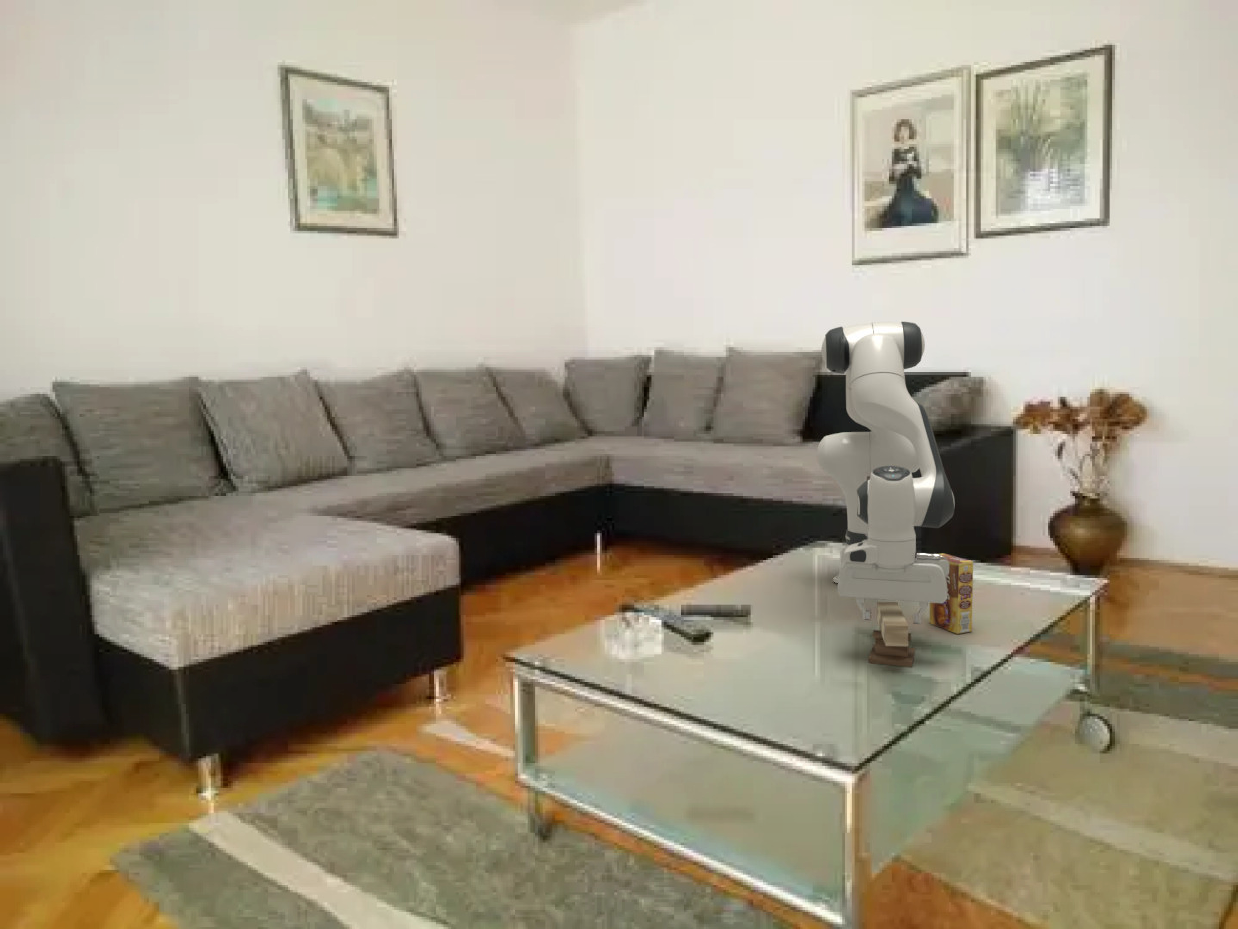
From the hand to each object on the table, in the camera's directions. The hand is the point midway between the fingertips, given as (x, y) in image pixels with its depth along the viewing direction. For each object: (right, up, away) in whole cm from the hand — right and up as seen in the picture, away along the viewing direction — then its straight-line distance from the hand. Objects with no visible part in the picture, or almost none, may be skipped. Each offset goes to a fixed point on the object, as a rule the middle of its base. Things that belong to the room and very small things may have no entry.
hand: (891, 621), depth 168 cm
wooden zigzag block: (0, -2, 0) cm, 2 cm away
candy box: (+18, -5, +17) cm, 25 cm away
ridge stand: (0, -7, +1) cm, 7 cm away
